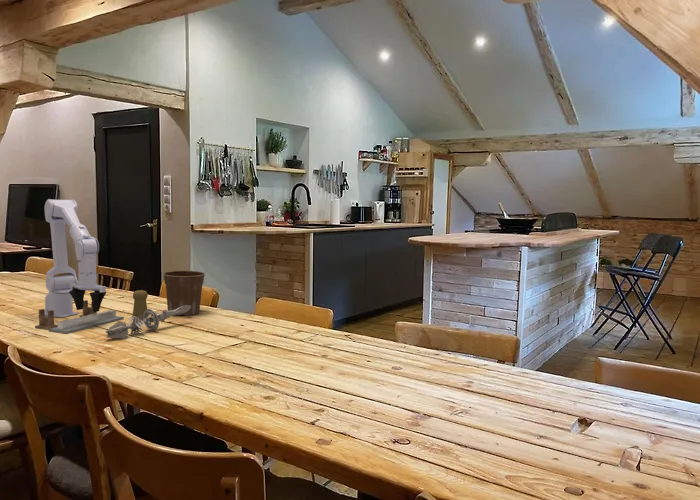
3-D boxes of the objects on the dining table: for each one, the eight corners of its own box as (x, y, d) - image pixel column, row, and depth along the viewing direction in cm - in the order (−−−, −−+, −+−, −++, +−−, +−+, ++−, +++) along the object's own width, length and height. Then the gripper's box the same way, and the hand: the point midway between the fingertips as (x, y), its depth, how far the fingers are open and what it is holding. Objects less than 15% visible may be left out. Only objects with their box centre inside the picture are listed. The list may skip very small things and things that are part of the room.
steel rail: (57, 329, 189) (57, 322, 189) (110, 316, 212) (110, 309, 211) (63, 330, 188) (62, 323, 188) (116, 316, 211) (115, 310, 211)
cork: (151, 318, 213) (151, 289, 212) (144, 321, 207) (144, 292, 206) (136, 317, 214) (136, 289, 213) (128, 320, 208) (128, 291, 207)
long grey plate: (48, 331, 189) (48, 329, 189) (107, 316, 214) (107, 314, 214) (66, 333, 187) (66, 331, 186) (123, 319, 211) (123, 316, 211)
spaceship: (199, 302, 205) (185, 292, 208) (115, 330, 176) (100, 318, 179) (195, 321, 208) (181, 310, 211) (112, 351, 179) (97, 338, 182)
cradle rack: (35, 327, 194) (34, 310, 193) (87, 315, 215) (87, 299, 214) (48, 329, 191) (47, 311, 191) (100, 317, 213) (99, 300, 212)
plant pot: (213, 311, 228) (213, 272, 226) (186, 319, 213) (186, 277, 212) (182, 307, 235) (182, 269, 233) (153, 314, 220) (153, 273, 219)
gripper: (62, 272, 197) (63, 310, 198) (94, 275, 192) (95, 314, 193) (78, 270, 204) (79, 307, 205) (110, 273, 199) (110, 311, 200)
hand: (87, 310), depth 200 cm, fingers open, 7 cm apart
